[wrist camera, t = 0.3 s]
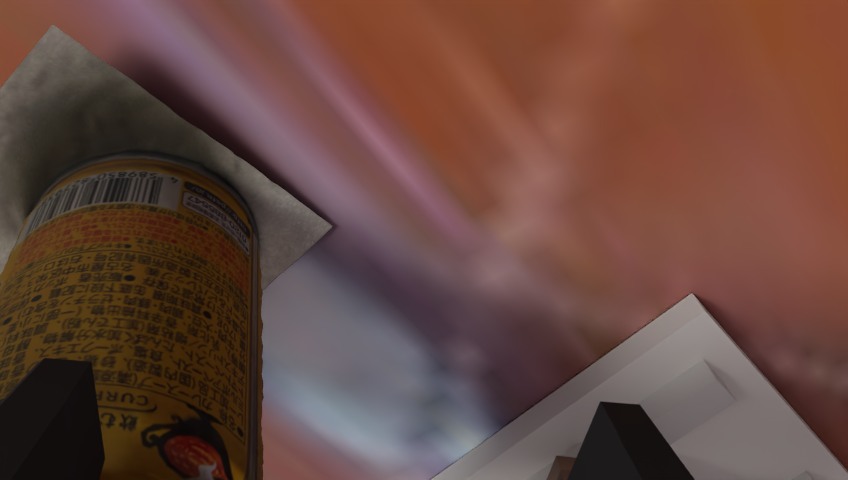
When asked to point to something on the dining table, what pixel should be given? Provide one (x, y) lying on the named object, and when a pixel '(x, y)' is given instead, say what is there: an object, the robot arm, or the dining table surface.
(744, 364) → the notch ledge
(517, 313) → the dining table surface
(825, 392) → the dining table surface
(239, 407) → the condiment
